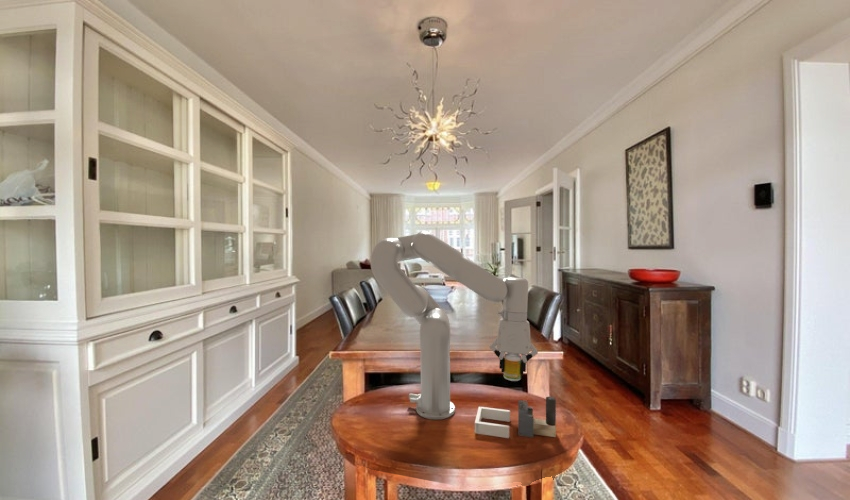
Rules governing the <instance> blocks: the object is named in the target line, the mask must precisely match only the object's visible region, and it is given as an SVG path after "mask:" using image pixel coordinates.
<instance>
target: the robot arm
mask: <svg viewBox="0 0 850 500" xmlns="http://www.w3.org/2000/svg"><path fill="white" fill-rule="evenodd" d="M416 259H421V260H423V261H425V262H426V263H428V264H429V265H430V266H432V267H434V268H435V269H437V270H439V271H441V272H442V273H443V274H445V275H446V276H448V277H450V278H451V279H452V280H455V281H456V282H458V283H460V284H462V286H465V287H466V288H467V289H469V290H471V292H474V293H475V294H477V295H478V296H480V297H482V298H483V299H485V300H486V301H487V302H490V303H494V304H496V303H500V302H502V304H503V305H502V310H500V311H498V310H497V311H498V312H497V315H498V316H500V317H501V318H500V319H499V324H498V328H497V329H498V330H497V337H496V339H495V340H494V341H493V342H492V343H491V344H490V345H489V349H490V350H491V351H492V352H493V353H494V354H495V356H496V357H497V358H498V359H499V367H498V368H499V369H500V372H501V373H504V356H505V354H506V353H514V354H519V355H520V356H521V358H522V360H521V376H524V372H526V371H527V370H526V369H527V362H529V361H530V360H531V359H532V358H534V357H535V356H536V355H538V353H539V352H538V349H537V348H536V347H535V345H534V344H533V343H532V342H531V327H530V322H529V321H528V320H527V319H528V303H529V302H528V301H529V300H528V297H529V281H528V280H527V279H526V278H525V277H524V278H523V277H516V276H515V277H513V276H512V277H511V276H510V277H502V276H496V275H494V274H492V273H491V272H489V271H488V270H486V269H485V268H483V267H481V266H480V265H478V264H477V263H476V262H474V261H473V260H471V259H470V258H469V257H468V256H467V255H466V254H464V253H463V252H461V251H460V250H458V249H456V248H454V247H453V246H451V245H450V244H448V243H446V241H444V240H442V239H440V238H439V237H437V236H436V235H434V234H432V233H431V232H429V231H425V230H424V231H419V232H417V233H415V234H410V235H403V236H400V237H385V238H383V239H381V240H379V241H378V242H377V243H375V245H374V247H373V250H372V252H371V256H370V269H371V273H372V274H373V277H374V278H375V280H376V281H377V283H378V284H379V285H380V286H381V288H382V289H383V290H384V291H385V292H386V294H387V295H388V296H389V298H390V299H392V301H393V302H394V304H395V305H397V307H398V308H399V309H400V310H401V312H402V313H403V314H404V315H406V316H407V317H409V318H414V319H415V320H416V321H417V322H418V323H419V345H420V346H419V347H420V351H419V352H420V393H418V394H416V393H412V392H410V393H408V400H409V402H410V403H412V404H416V406H415V411H416V413H417V414H418V416H420V417H422V418H425V419H427V420H436V421H437V420H445V419H448V418H450V417H452V416H453V415H454V414H455V411H456V405H455V404H454V403H453V402H452V401H451V325H450V319H449V317H448V315H447V313H446V311H445V310H444V309H443V308H442V307H441V306H440V304H439V303H438V302H437V301H436V300H435V299H434V298H433V296H431V294H430V293H429V292H428V291H427V290H426V288H424V287H422V286H420V285H418V284H415V283H414V282H413V281H412V279H410V278H409V276H408V275H407V274H406V273H405V272H404V271H403V270H402V269H401V268H400V266H399V263H398V262H405V261H409V260H416ZM530 350H531V351H530Z"/></svg>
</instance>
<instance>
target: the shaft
mask: <svg viewBox="0 0 850 500" xmlns="http://www.w3.org/2000/svg"><path fill="white" fill-rule="evenodd" d="M556 400H557V399H556V398H555V397H553V396H546V397H545V419H543V418H534V417H533V435H535V436H536V435H537V436H544V437H550V438H556V437H557V433H556V432H557V426H556V425H557V420H556V419H557V413H556V412H557V411H556V410H557V407H556V406H557V405H556V404H557V402H556Z"/></svg>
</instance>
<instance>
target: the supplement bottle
mask: <svg viewBox="0 0 850 500" xmlns="http://www.w3.org/2000/svg"><path fill="white" fill-rule="evenodd" d="M521 360H522V356H521V354H514V353H506V352H505V354H504V372H503V378H504V379H505V380H508V381H511V382H518V381H520V380H521V379H522V375H521Z"/></svg>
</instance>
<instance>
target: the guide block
mask: <svg viewBox="0 0 850 500" xmlns="http://www.w3.org/2000/svg"><path fill="white" fill-rule="evenodd" d="M533 408H534V407H532V406H528V400H520V399H519V400H518V411H517V413H518V416H517V417H518V424H517V425H518V429H517V430H518V432H517V433H518V436H519V437H520V436H521V437H527V438H534V434H533V418H534V415H533V414H534V413H533V412H534V410H533Z"/></svg>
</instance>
